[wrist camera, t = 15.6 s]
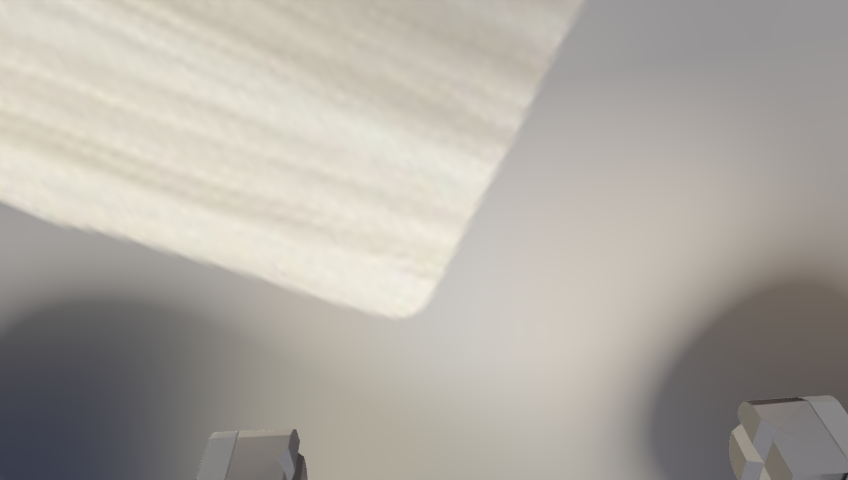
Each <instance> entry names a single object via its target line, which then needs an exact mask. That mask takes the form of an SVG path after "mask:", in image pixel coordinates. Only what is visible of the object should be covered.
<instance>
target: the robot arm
mask: <svg viewBox="0 0 848 480" xmlns="http://www.w3.org/2000/svg"><path fill="white" fill-rule="evenodd" d="M737 416H738V417H739V419H740V421H741V423H742V424H741V425H739V426H738V427H737V428H736V429H734V430H733V431H732V434H731V438H730V442H729V450H730V460H731V463H732V467H733V470H734V472H735V475H736V476H737V479H738V480H848V414H847V413H846V412H845V410H844V409H843V407H842V406H841V405H840V403H839V402H838V401H837V400H836V399H835V398H833V397H832V396H816V397H801V398H799V397H792V398H778V399H764V400H751V401H744V403H742V404H741V405H740V408H739V411H738V414H737ZM299 444H300V440H299V437H298V433H297V430H296V429H284V430H254V431H233V432H232V431H231V432H214V433H213V434H212V436H211V437H210V438H209V440H208V443H207V445H206V449H205V452H204V455H203V459H202V462H201V465H200V468H199V471H198V474H197V478H196V480H307V468H306V463H305V459H304V456H302V455H301V454H299V453H298V449H299Z"/></svg>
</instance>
